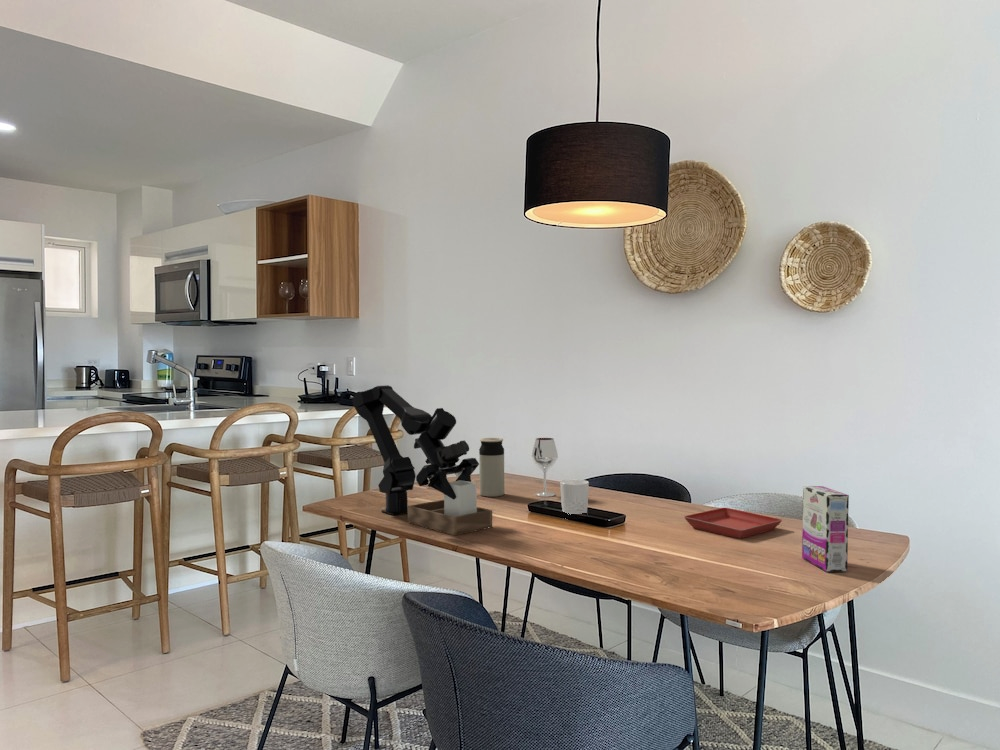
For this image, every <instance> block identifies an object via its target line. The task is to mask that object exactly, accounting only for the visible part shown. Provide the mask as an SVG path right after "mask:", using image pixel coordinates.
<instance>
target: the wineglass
mask: <svg viewBox="0 0 1000 750" xmlns="http://www.w3.org/2000/svg"><path fill="white" fill-rule="evenodd" d="M531 458H532V461H533V463H534V464H535V465H536V466H537V467H538V468H539V469H540V470H541V471H542V473H543V490H542V491H543V492H536V493H535V494H534V496H537V497H541V498H546V497H547V498H548V497H550V498H551V497H554V496H556V494H555V492H554V493H553V492H548V491H547V472H548V471H549V470H550V469H551V468H552V467H553V466H554V465H555V464H556V463H557V461H558V450H557V446H556V443H555V439H554V438H552V437H538V438H537V437H536V438H535V441H534V445H533V449H532V453H531Z"/></svg>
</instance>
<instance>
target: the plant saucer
mask: <svg viewBox="0 0 1000 750" xmlns="http://www.w3.org/2000/svg"><path fill="white" fill-rule="evenodd" d="M683 517H684V520H685V521H687V523H688V524H689V525H690V526H691V527H692V528H693V529H697V530H700V531H701V530H702V531H705V532H710V533H713V534H717V535H722V536H726V537H730V538H734V539H743V538H744V539H745V538H747V537H751V536H756V535H759V534H760V535H761V534H763V533H767V532H770V531H773V530H775V529H776V528H777V527H778V526H779V525H780V523H781V522H782V521H783V519H782V518H781V519H780V518H776V517H772V516H767V515H763V514H758V513H753V512H749V511H743V510H740V509H733V508H729V507H720V508H716V509H711V510H706V511H701V512H698V513H692V514H688V515H684V516H683Z"/></svg>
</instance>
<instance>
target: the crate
mask: <svg viewBox="0 0 1000 750" xmlns="http://www.w3.org/2000/svg"><path fill="white" fill-rule="evenodd" d="M476 507H477V513H472V514H467V515H462V516H457V517H452V516H448V515H444V499H438V500H434V501H429V502H423V503H417V504H412V505H411V504H410V505H408V513H407V523H408V522H410V523H409V524H411V523H413V524H412V525H415V524H417V525H416V526H418V525H420V527H422V526H423V527H422V528H425V527H427V528H426V529H429V528H431V529H430V530H432V529H434V530H433V531H436V530H437V532H439V531H441V532H440V533H443V532H444V533H443V534H446V533H448V534H447V535H450V534H451V536H453V535H455V536H459V535H458V534H460V535H462V534H461V533H464V534H467V533H466V532H469V533H472V532H471V531H473V532H476V531H475V530H478V531H480V529H482V530H485V529H484V528H486V529H489V528H488V527H491V528H493V510H492V509H488V508H484V507H480V506H476Z"/></svg>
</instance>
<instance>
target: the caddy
mask: <svg viewBox="0 0 1000 750" xmlns="http://www.w3.org/2000/svg"><path fill="white" fill-rule="evenodd" d="M448 482H449V484H450V485H451V487H452V489H453V491H454V493H455V495H456V498H455V499H454V500H453V499H452V498H450V497H448V496H447V495H445V494H443V500H444V515H448V516H452V517H457V516H462V515H467V514H472V513H477V507H478V506H477V482H473V481H471V482H468V481H462V480H459V481H456V480H455V481H451V482H450V481H448Z"/></svg>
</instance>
